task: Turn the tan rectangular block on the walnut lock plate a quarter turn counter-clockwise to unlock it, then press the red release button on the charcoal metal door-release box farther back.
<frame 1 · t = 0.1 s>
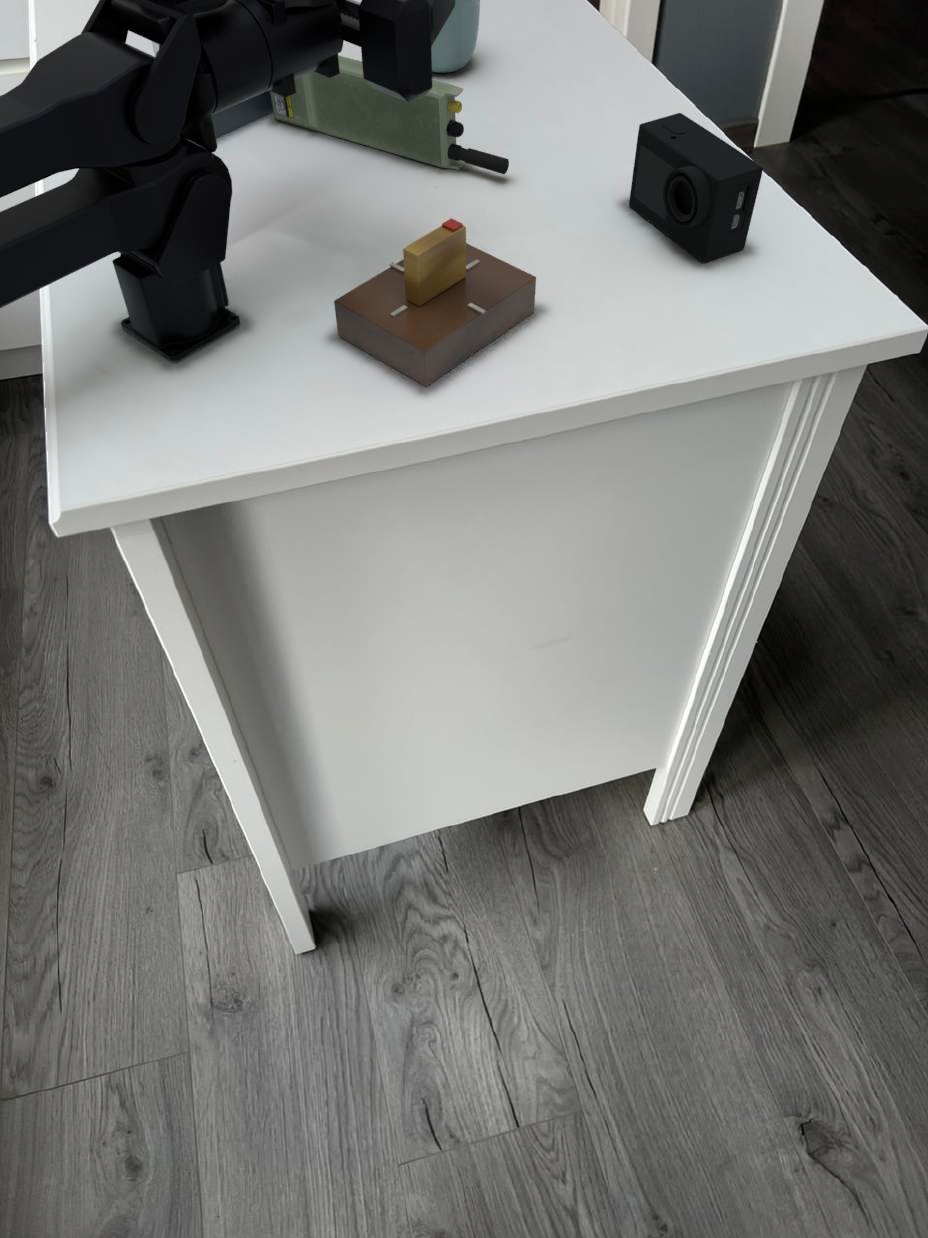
release box: (211, 109, 97), on the table
digital camera: (677, 230, 83), on the table
lock plate: (437, 323, 75), on the table
cup: (441, 66, 103), on the table
tan rectangular block: (435, 261, 71), point 5 cm above the table, hinge at 0.0°
handheld radio: (387, 148, 92), on the table
release button: (202, 60, 93), point 4 cm above the table, slide at 0.1 cm
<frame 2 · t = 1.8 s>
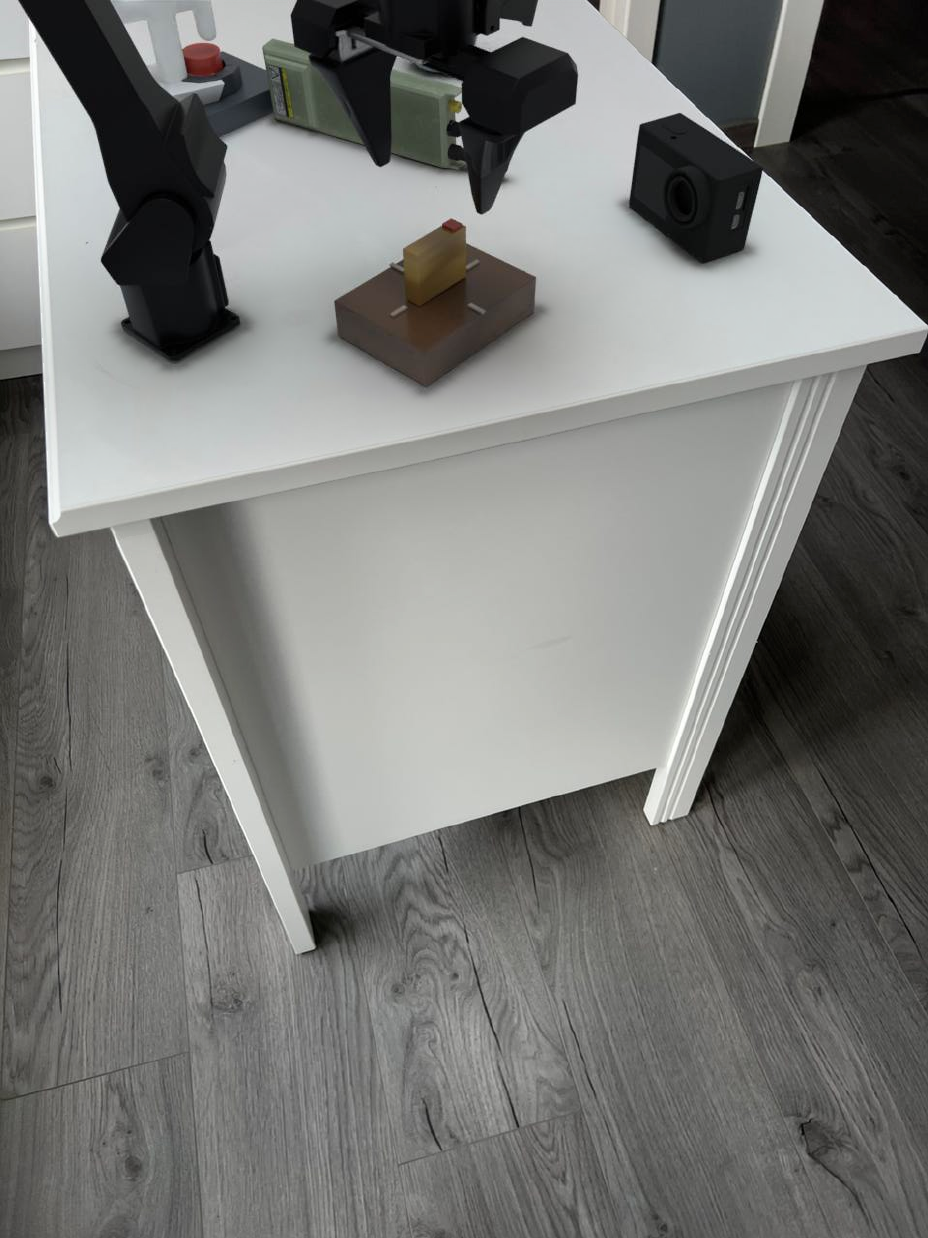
hand: (432, 187, 66), 11 cm above the table, tool pointing down, fingers open, 9 cm apart
nothing on the table moved.
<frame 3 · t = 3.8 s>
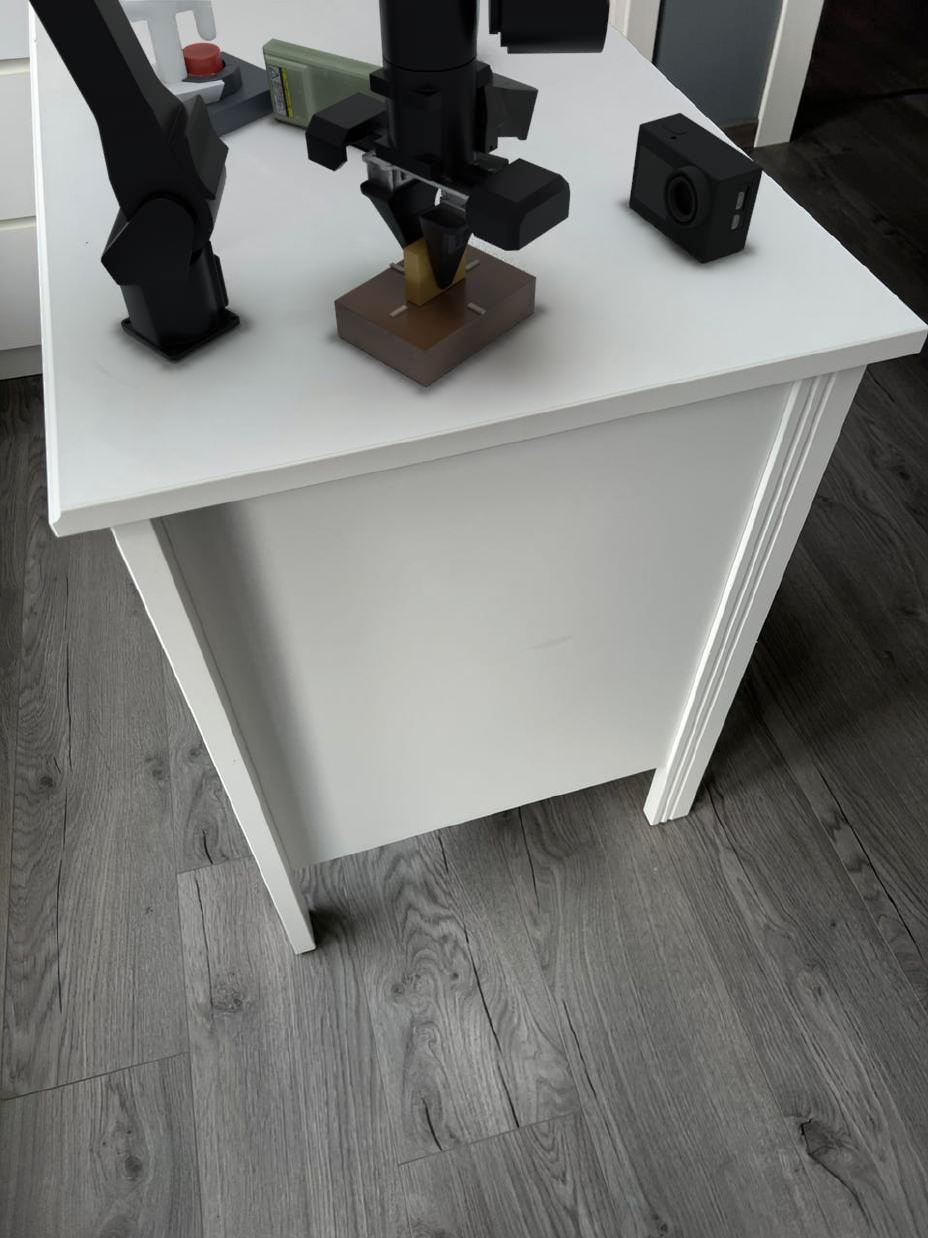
hand: (436, 282, 72), 4 cm above the table, tool pointing down, fingers closed on tan rectangular block
tan rectangular block: (435, 261, 71), point 5 cm above the table, hinge at 0.8°, touching gripper
everything else where it was.
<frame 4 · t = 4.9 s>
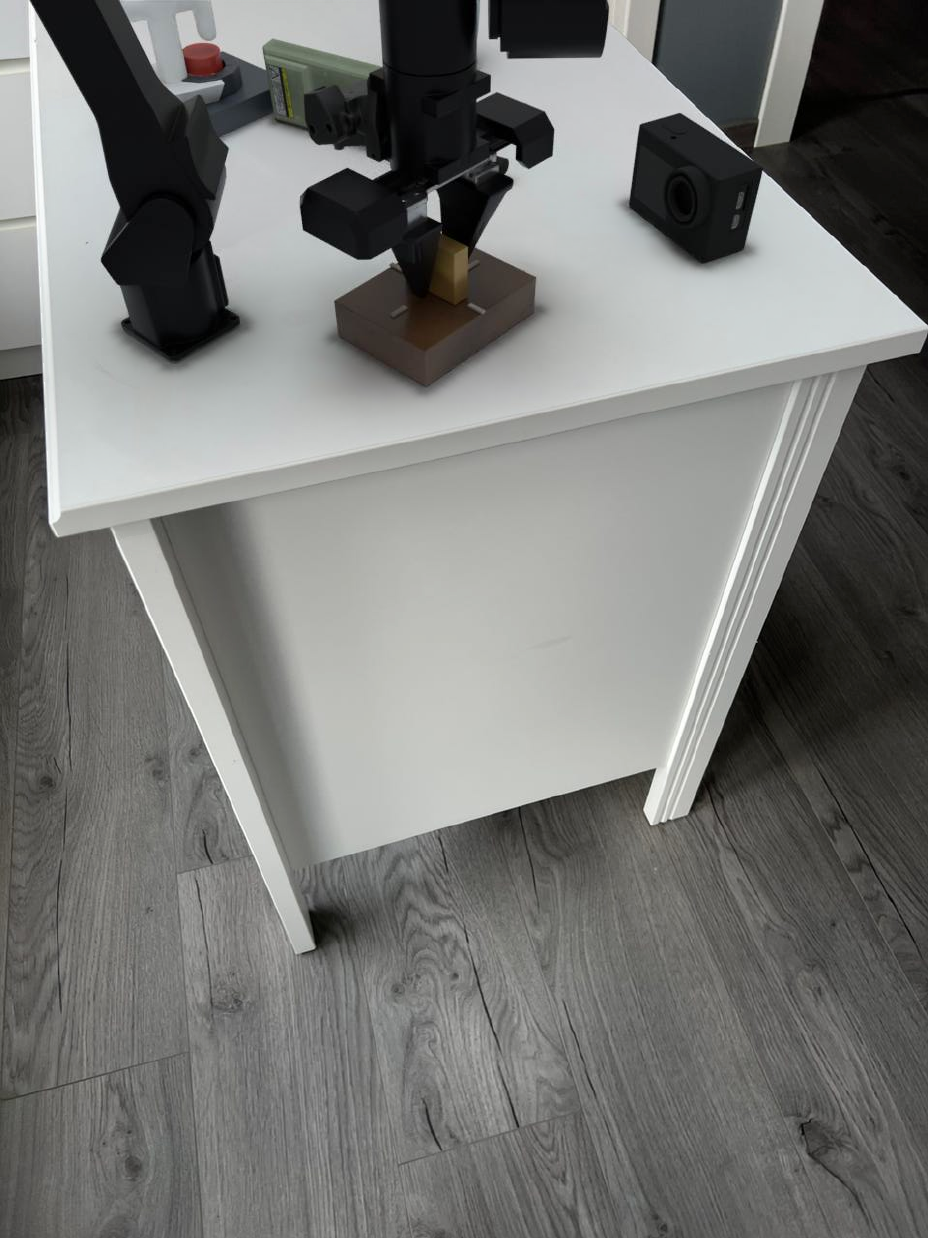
hand: (436, 285, 72), 3 cm above the table, tool pointing down, fingers open, 3 cm apart
tan rectangular block: (435, 261, 71), point 5 cm above the table, hinge at 89.3°
everything else where it was.
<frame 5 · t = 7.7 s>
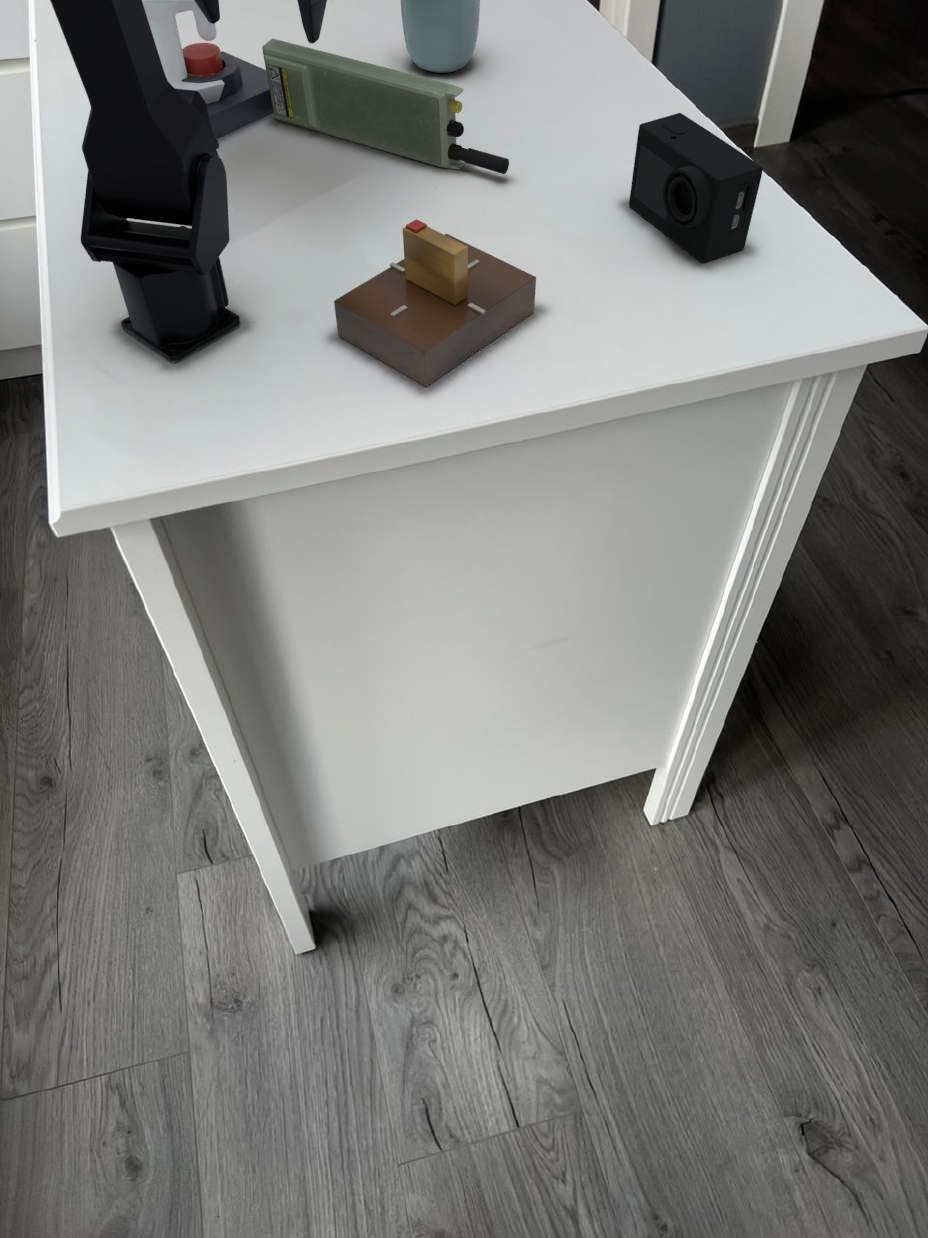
hand: (263, 31, 80), 12 cm above the table, tool pointing down, fingers open, 9 cm apart
nothing on the table moved.
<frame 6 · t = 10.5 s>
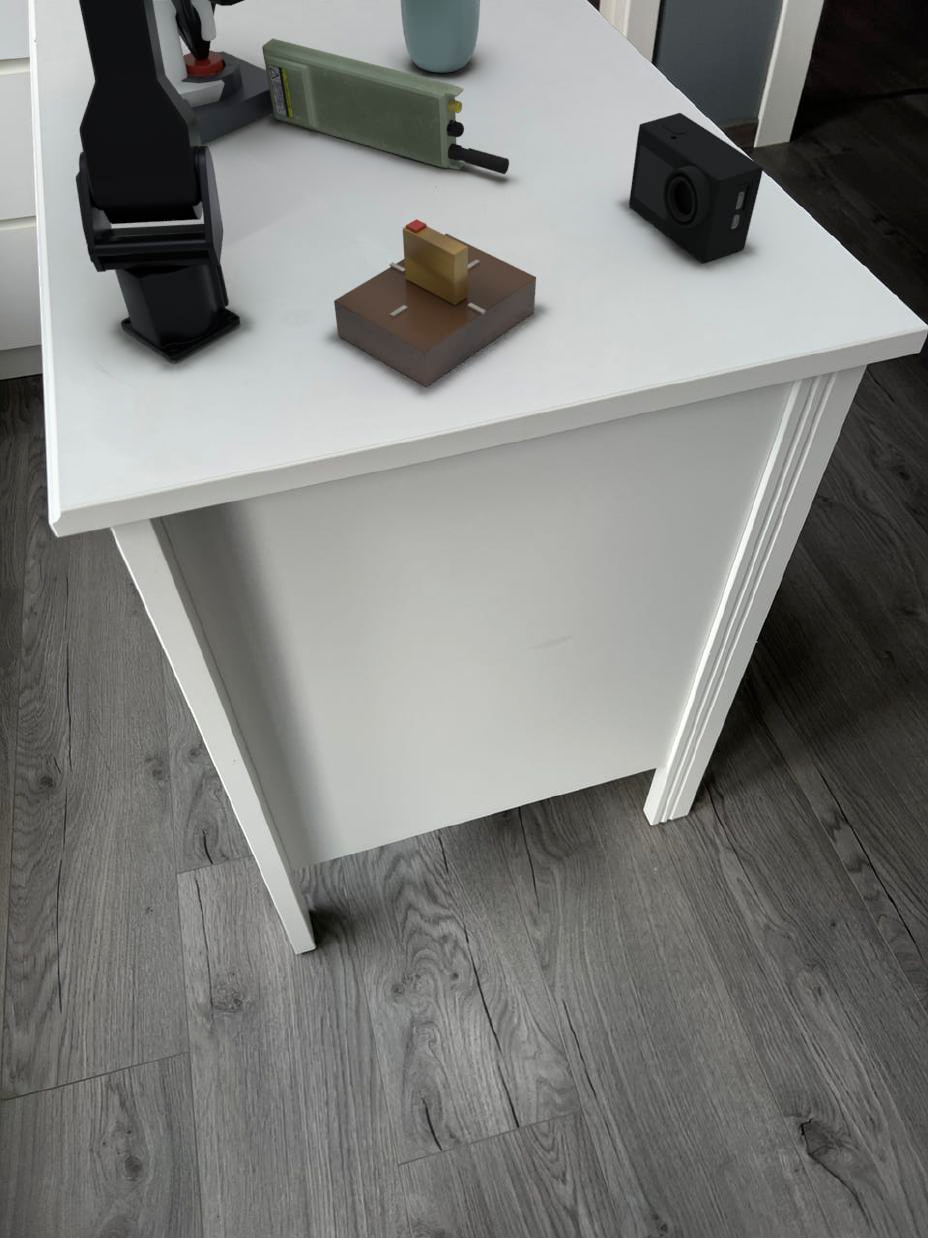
hand: (201, 58, 93), 5 cm above the table, tool pointing down, fingers closed, pressing on release button
release button: (203, 67, 94), point 4 cm above the table, slide at -0.6 cm, touching gripper
everything else where it was.
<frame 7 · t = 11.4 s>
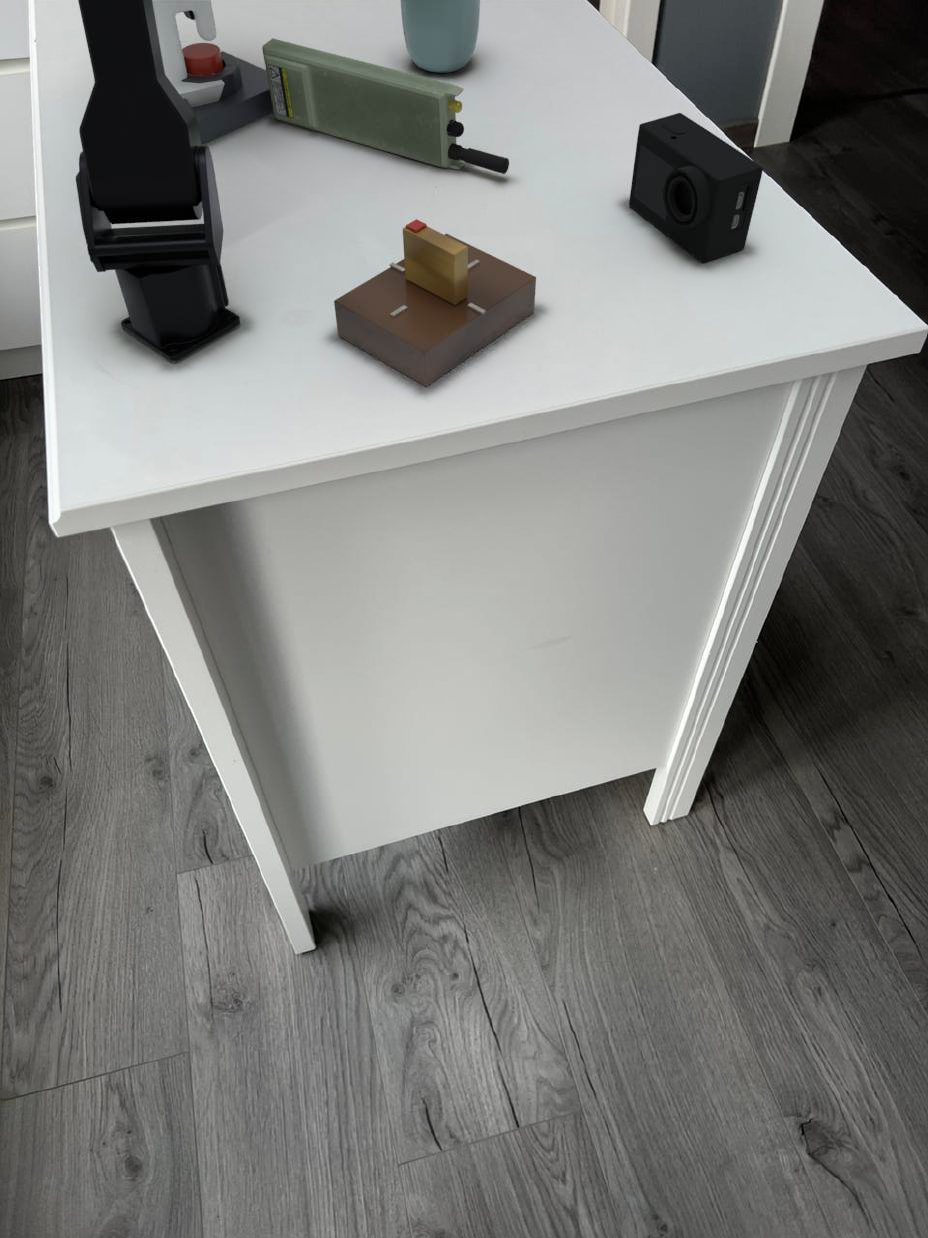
hand: (194, 17, 90), 8 cm above the table, tool pointing down, fingers closed
release button: (202, 60, 93), point 4 cm above the table, slide at 0.1 cm
everything else where it was.
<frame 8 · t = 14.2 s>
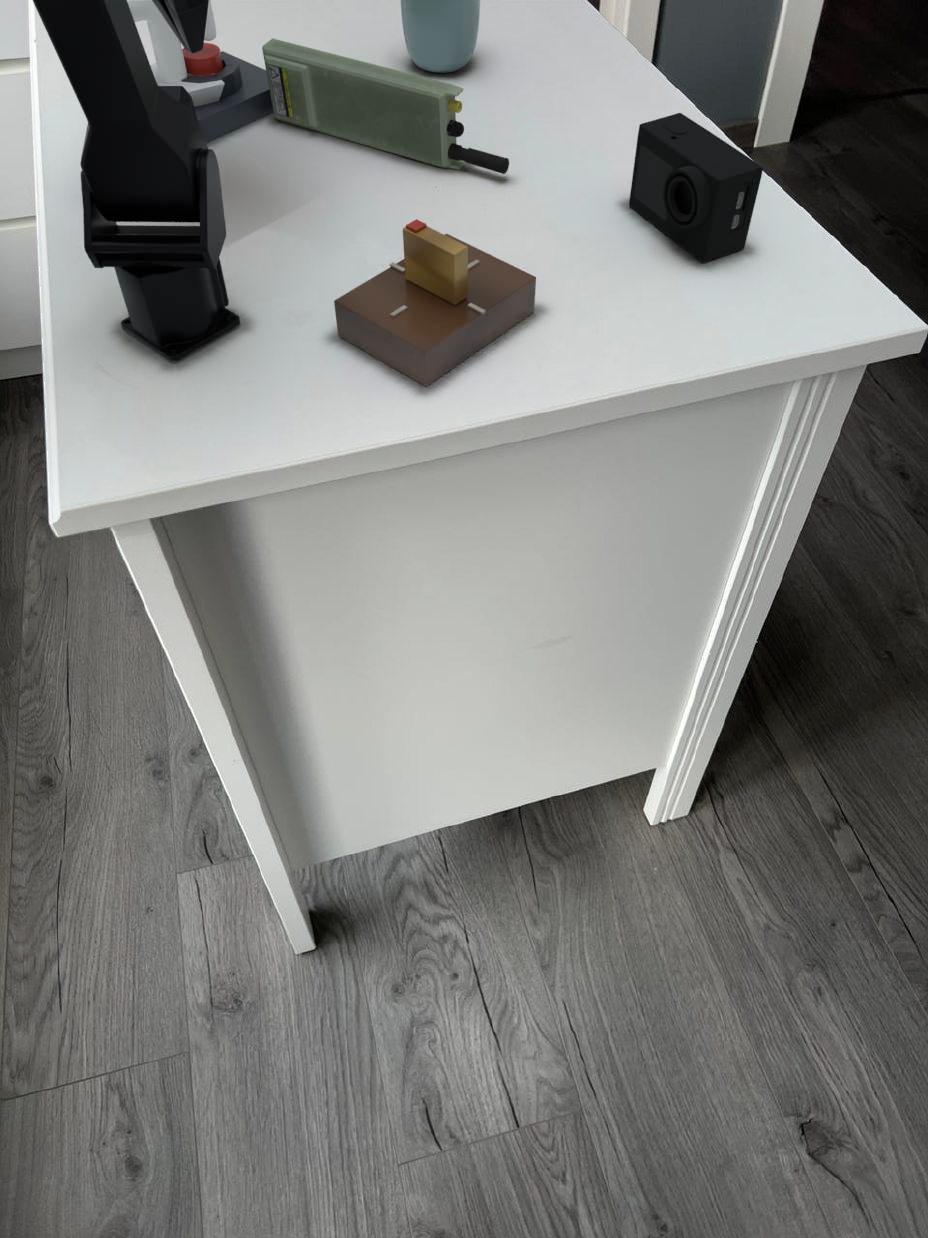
hand: (194, 50, 77), 12 cm above the table, tool pointing down, fingers closed
nothing on the table moved.
at the end: tan rectangular block at +89° (first picture: +0°); release button pushed in 1.1 cm at the most during the clip, back to where it started at the end; release button slide at 0.1 cm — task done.
